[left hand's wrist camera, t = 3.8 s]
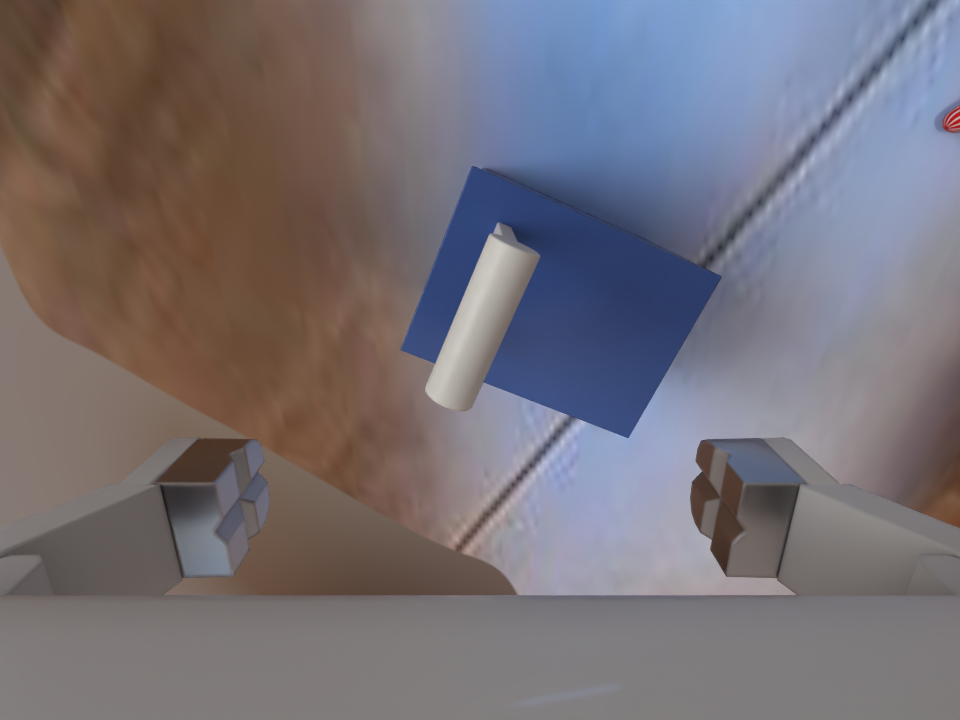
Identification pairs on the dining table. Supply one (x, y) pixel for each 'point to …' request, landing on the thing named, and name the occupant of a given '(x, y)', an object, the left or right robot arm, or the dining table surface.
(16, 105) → the dining table surface
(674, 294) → the lid
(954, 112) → the candy cane
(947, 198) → the dining table surface
